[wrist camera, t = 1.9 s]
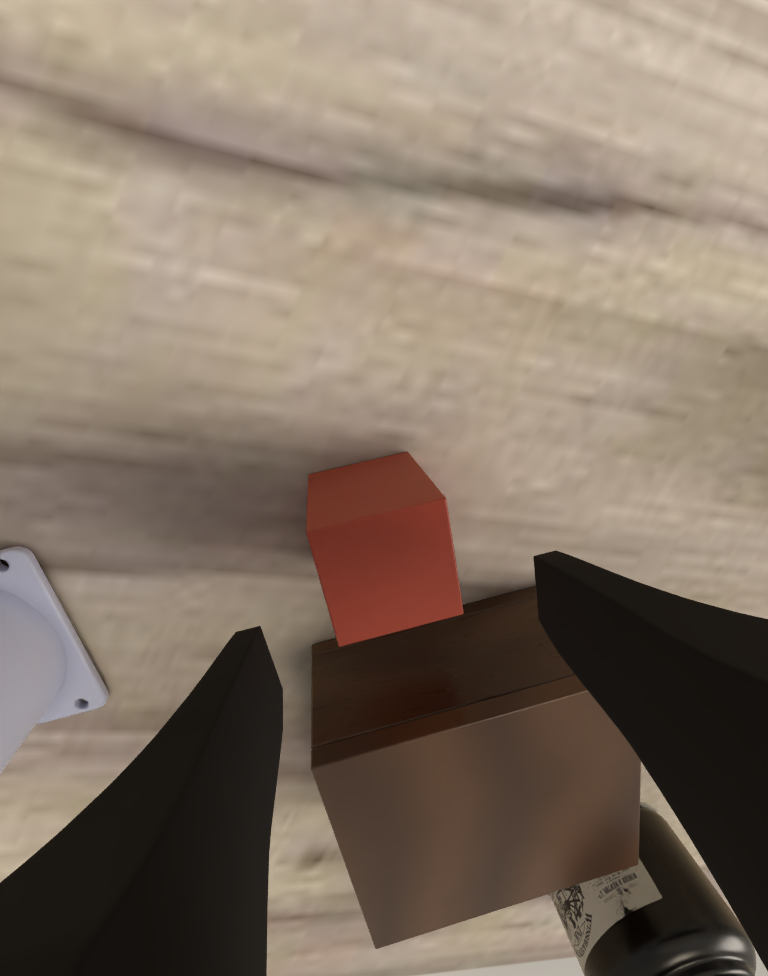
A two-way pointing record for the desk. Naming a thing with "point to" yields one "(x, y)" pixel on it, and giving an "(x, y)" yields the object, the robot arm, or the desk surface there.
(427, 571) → the block
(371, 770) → the brown open wooden box
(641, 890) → the ink bottle
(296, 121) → the desk surface
